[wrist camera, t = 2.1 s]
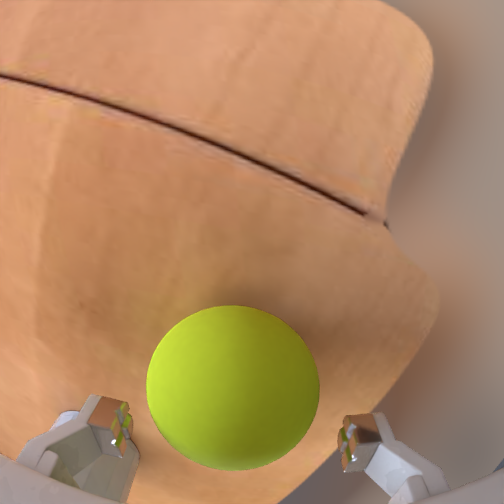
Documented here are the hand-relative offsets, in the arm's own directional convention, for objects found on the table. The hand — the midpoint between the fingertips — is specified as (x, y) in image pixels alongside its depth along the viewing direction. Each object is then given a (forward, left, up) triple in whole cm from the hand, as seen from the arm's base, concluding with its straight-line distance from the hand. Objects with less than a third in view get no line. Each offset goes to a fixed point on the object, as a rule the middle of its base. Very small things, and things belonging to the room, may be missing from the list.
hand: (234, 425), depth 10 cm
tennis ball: (-1, 0, -1) cm, 1 cm away
